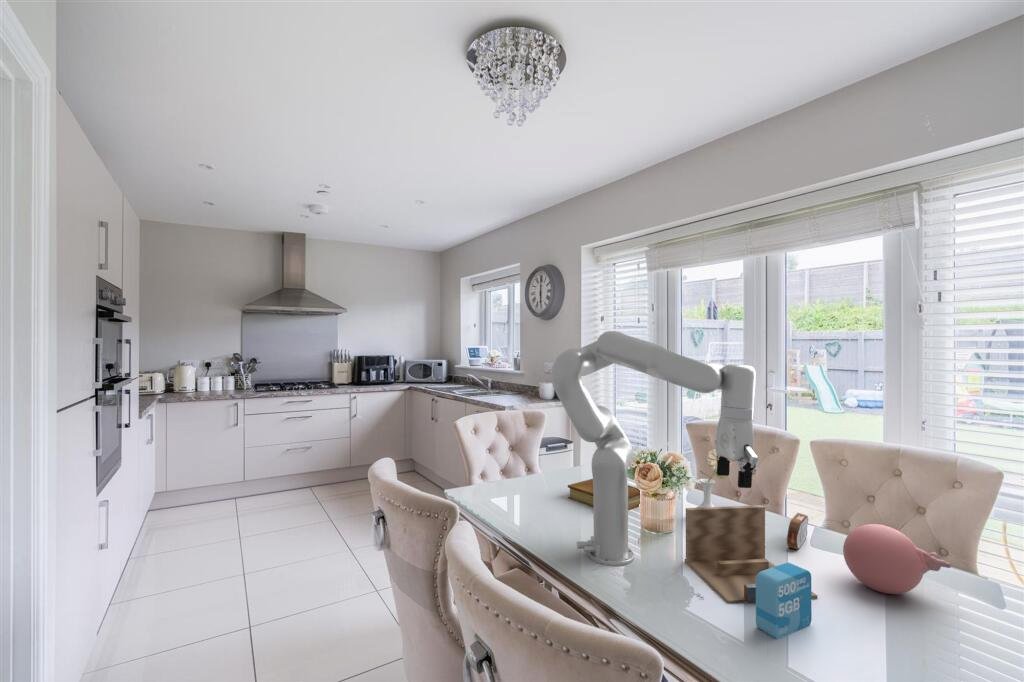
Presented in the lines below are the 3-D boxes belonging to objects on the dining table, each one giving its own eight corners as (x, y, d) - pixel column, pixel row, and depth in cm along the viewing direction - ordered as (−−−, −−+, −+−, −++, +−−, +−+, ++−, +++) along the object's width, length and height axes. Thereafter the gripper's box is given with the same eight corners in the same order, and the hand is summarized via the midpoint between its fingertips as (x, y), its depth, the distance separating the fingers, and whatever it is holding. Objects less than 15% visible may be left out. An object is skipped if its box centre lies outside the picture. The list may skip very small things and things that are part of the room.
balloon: (952, 624, 100) (952, 551, 100) (839, 591, 113) (839, 527, 113) (950, 595, 112) (949, 530, 112) (847, 568, 125) (847, 510, 125)
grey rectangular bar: (748, 600, 107) (748, 587, 107) (744, 597, 109) (744, 584, 109) (800, 597, 109) (800, 584, 109) (796, 594, 110) (796, 581, 110)
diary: (647, 505, 175) (647, 490, 175) (614, 517, 163) (614, 500, 163) (600, 490, 193) (600, 476, 193) (567, 499, 181) (567, 484, 181)
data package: (775, 642, 94) (775, 582, 94) (755, 630, 98) (755, 572, 98) (812, 626, 99) (811, 569, 99) (791, 615, 103) (791, 560, 103)
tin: (798, 535, 146) (798, 508, 146) (809, 538, 144) (809, 511, 144) (785, 551, 135) (785, 522, 135) (798, 554, 133) (798, 525, 133)
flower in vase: (688, 525, 154) (688, 449, 154) (689, 514, 165) (689, 442, 165) (732, 531, 149) (732, 453, 149) (730, 519, 160) (730, 445, 160)
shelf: (728, 605, 107) (728, 539, 107) (684, 562, 128) (684, 507, 128) (817, 599, 110) (817, 535, 110) (760, 558, 130) (760, 504, 131)
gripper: (705, 407, 127) (702, 470, 127) (742, 419, 110) (738, 492, 110) (731, 408, 128) (728, 471, 128) (772, 420, 110) (768, 493, 111)
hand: (733, 481), depth 119 cm, fingers open, 9 cm apart
